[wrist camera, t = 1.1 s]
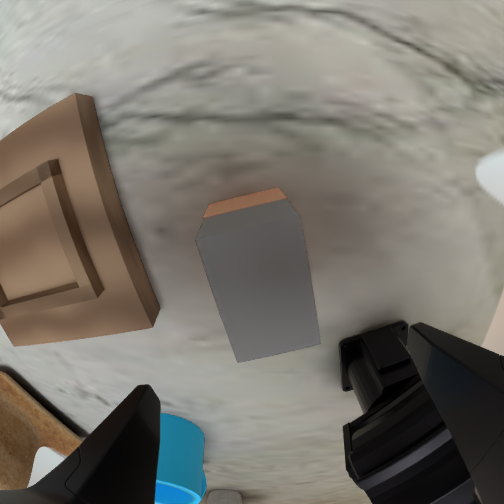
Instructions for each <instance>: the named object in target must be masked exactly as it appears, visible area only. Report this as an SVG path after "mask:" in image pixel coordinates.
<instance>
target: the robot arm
mask: <svg viewBox="0 0 504 504" xmlns="http://www.w3.org/2000/svg"><path fill="white" fill-rule="evenodd" d="M407 335H408V349H409V351H408V350H407V348H406V345H407ZM345 345H346V346H345ZM344 346H345V347H344ZM339 354H340V368H341V385H342V389H343V391H345V392H346V391H350V390H353V389H354V392H355V394H356V396H357V399H358V401H359V404H360V406H361V409H362V411H363V413H364V414H363V415H362V416H360V417H359V418H357V419H355V420H354V421H352V422H351V423H347V424H346V425H344V426H343V434H344V435H343V437H344V449H345V462H346V470H347V472H348V474H349V477H350V478H352V479H353V481H354V482H355V483H356V485H357V486H358V487H360V488H361V489H363V490H364V491H365V492H366V494H367V495H368V497H369V498H370V500H371V502H372V504H504V356H502V355H500V356H499V354H497V353H495V352H492V351H490V350H487V349H485V348H482V347H480V346H478V345H475V344H473V343H470V342H468V341H466V340H463V339H461V338H458V337H456V336H453V335H451V334H449V333H446V332H444V331H441V330H439V329H436V328H434V327H432V326H429V325H427V324H424V323H422V322H418V323H416V324H413V325H411V326H410V327H409V334H408V324H407V323H406V322H405V321H401V322H399V323H396V324H393V325H390V326H387V327H384V328H381V329H378V330H375V331H372V332H369V333H366V334H363V335H359V336H356V337H353V338H350V339H346V340H343V341H342V342H340V344H339ZM160 411H161V404H160V400H159V398H158V397H157V395H156V394H155V392H154V390H153V389H152V387H151V386H150V385H148V384H145V385H138V386H137V387H136V388H135V389H134V390H133V391H132V392H131V393H130V394H129V395H128V396H127V397H126V398H125V399H124V400H123V401H122V402H121V403H120V404H119V405H118V406H117V407H116V408H115V409H114V410H113V411H112V412H111V413H110V414H109V416H108V417H107V418H106V419H105V420H104V421H103V422H102V423H101V424H100V425H99V426H98V427H97V428H96V429H95V430H94V431H93V432H92V433H91V434H90V435H89V436H88V437H87V438H86V439H85V440H84V441H83V442H82V443H81V444H80V445H79V447H77V448H76V449H75V450H74V451H73V452H72V453H71V454H70V455H69V456H68V457H67V458H66V459H65V460H64V461H63V462H61V463H60V464H59V465H58V466H57V467H56V468H54V469H53V470H52V471H51V472H50V473H48V474H47V475H46V476H45V477H44V478H42V479H41V480H40V481H38V482H37V483H36V484H34V485H33V486H31V487H28V488H25V489H16V490H0V504H155V491H156V479H157V468H158V458H159V449H160Z"/></svg>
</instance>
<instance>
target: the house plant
mask: <svg viewBox="0 0 504 504" xmlns="http://www.w3.org/2000/svg"><path fill="white" fill-rule="evenodd" d="M207 504H243V502H242V498H241V494H240V493H239V492H236V491H232V490H214V491H211V492H210V493H209V495H208V500H207Z"/></svg>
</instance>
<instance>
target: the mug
mask: <svg viewBox="0 0 504 504" xmlns="http://www.w3.org/2000/svg"><path fill="white" fill-rule="evenodd" d="M203 455H204V433H203V432H202V431H201V430H200V428H199V427H197V426H196V425H195V424H193V423H192V422H190V421H188V420H185V419H183V418H181V417H177V416H173V415H170V414H162V413H160V449H159V458H158V468H157V479H156V491H155V503H157V504H197V503H199V502H200V501H201V499H202V498H203V496H204V494H205V492H206V487H207V485H206V477H205V474H204V471H203Z"/></svg>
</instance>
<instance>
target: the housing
mask: <svg viewBox="0 0 504 504" xmlns="http://www.w3.org/2000/svg"><path fill="white" fill-rule="evenodd" d="M195 241H196V244H197V247H198V250H199V253H200V256H201V259H202V263H203V266H204V269H205V272H206V275H207V278H208V281H209V284H210V287H211V290H212V293H213V296H214V298H215V301H216V304H217V307H218V310H219V313H220V316H221V319H222V321H223V324H224V327H225V330H226V333H227V335H228V338H229V341H230V344H231V346H232V349H233V352H234V354H235V357H236V360H237V362H238V363H239V362H245V361H250V360H255V359H259V358H264V357H269V356H273V355H278V354H282V353H286V352H291V351H295V350H299V349H303V348H307V347H311V346H314V345H318V344H321V342H320V334H319V327H318V320H317V313H316V306H315V300H314V293H313V287H312V281H311V275H310V269H309V263H308V257H307V251H306V246H305V240H304V235H303V229H302V224H301V219H300V214H299V213H298V212H297V211H296V210H295V209H294V207H293V206H292V205H291V204H290V203H289V201H288V200H287V197H286V196H285V195H284V194H283V193H282V191H281V190H280V189H279V188H278V187H277V188H273V189H268V190H264V191H260V192H256V193H252V194H247V195H243V196H239V197H235V198H231V199H227V200H223V201H219V202H216V203H212V204H209V205H208V207H207V210H206V212H205V214H204V216H203V222H202V225H201V227H200V230H199V232H198V235H197V237H196V240H195Z"/></svg>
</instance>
